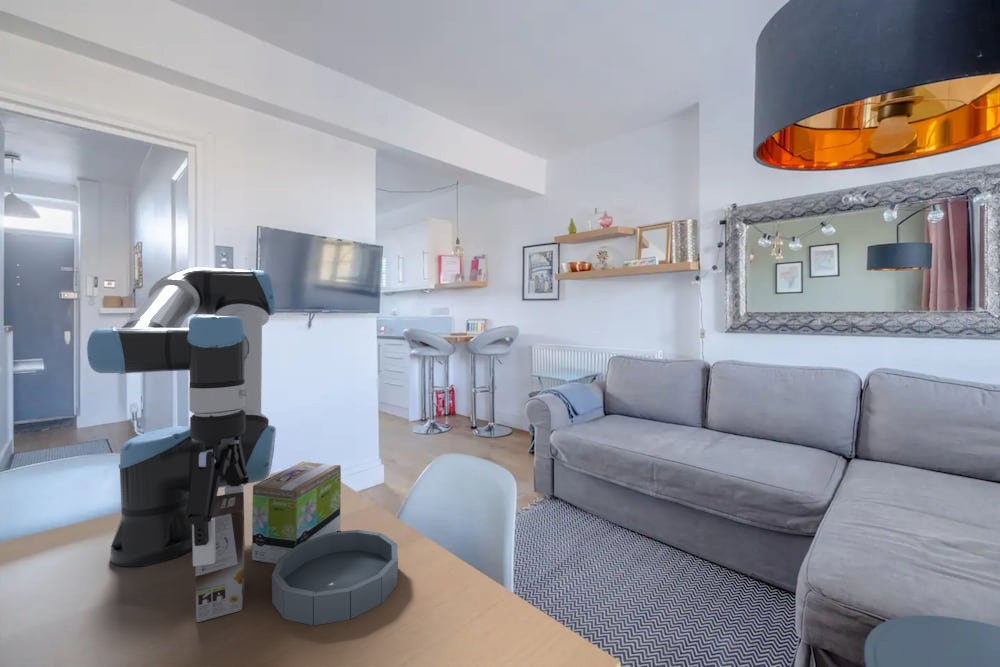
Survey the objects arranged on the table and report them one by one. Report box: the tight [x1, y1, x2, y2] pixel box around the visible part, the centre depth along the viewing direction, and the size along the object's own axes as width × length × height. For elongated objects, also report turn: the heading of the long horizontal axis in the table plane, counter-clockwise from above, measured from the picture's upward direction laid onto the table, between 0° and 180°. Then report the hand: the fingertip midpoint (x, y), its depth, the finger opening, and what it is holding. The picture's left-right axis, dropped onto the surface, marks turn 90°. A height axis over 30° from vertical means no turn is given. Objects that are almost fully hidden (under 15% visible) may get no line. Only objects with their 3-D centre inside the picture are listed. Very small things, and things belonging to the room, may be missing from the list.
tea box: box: [251, 461, 342, 565], centre depth 90 cm, size 15×10×15 cm
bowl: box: [271, 529, 399, 626], centre depth 77 cm, size 20×20×4 cm
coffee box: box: [194, 491, 246, 623], centre depth 72 cm, size 9×6×16 cm
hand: (220, 541), depth 72 cm, fingers open, 13 cm apart
